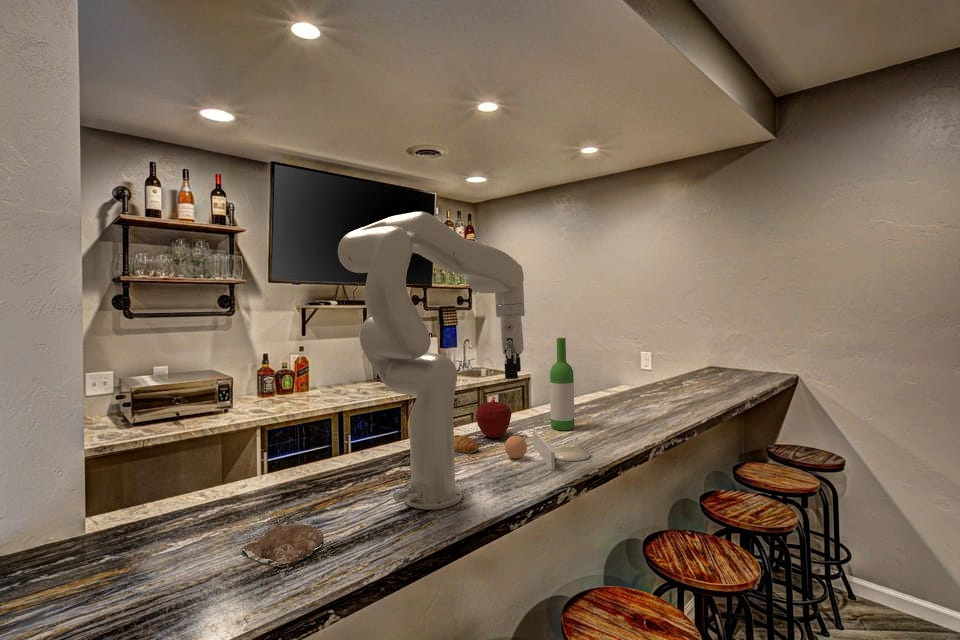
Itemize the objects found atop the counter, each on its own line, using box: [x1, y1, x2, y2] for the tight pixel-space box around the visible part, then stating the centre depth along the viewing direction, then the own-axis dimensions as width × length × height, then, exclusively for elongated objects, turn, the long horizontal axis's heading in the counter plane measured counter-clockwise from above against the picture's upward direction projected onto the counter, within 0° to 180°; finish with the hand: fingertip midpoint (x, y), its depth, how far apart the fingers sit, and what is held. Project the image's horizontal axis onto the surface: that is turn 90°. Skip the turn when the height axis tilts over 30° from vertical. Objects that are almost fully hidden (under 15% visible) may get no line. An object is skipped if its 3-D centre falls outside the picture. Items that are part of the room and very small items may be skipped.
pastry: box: [454, 434, 479, 454], centre depth 143 cm, size 9×7×4 cm
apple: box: [475, 400, 512, 439], centre depth 155 cm, size 11×11×12 cm
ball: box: [504, 435, 528, 459], centre depth 134 cm, size 6×6×6 cm
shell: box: [242, 523, 325, 564], centre depth 88 cm, size 12×13×4 cm
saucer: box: [551, 446, 591, 463], centre depth 136 cm, size 11×11×1 cm
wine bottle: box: [549, 337, 575, 431], centre depth 164 cm, size 8×8×30 cm
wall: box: [532, 429, 556, 471], centre depth 135 cm, size 22×1×4 cm, turn 6°
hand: (513, 374), depth 132 cm, fingers open, 9 cm apart
